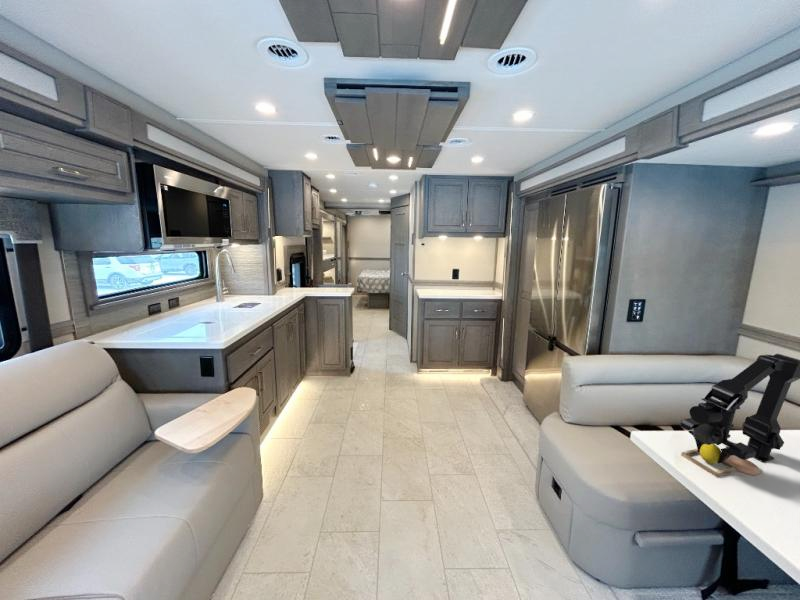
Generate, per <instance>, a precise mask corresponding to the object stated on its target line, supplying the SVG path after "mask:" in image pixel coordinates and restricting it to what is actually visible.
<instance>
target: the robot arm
mask: <svg viewBox="0 0 800 600" xmlns="http://www.w3.org/2000/svg"><path fill="white" fill-rule="evenodd" d="M767 377H769V378H768V381H767V385H766V387H765V389H764V392H763V395H762V397H761V400H760V402H759V405H758V408H757V410H756V412H755V414H753V415H750V416H748V415H747V416H746V417H745V419H744V421H743V423H742V427H741V428H742V435H744V436H746V437H748V441H747V444H745V443H743V442H733V441H731V440H729V439H730V438H731V434H730V432H731V428H732V429H733V428H734V424H733V421H734V418H735V414H736V410H741V406H742V405H743V404H744V403H745V401H747V399H748V398H749V397H748V395H749V393H748V392H749V391H750V390H751V389H753V388H754V387H755V386H757V385H758V384H759V383H761V382H762V381H764V379H766V378H767ZM798 380H800V359H798V358H796V357H791V356H788V355H784V354H780V353H775V354H774V355H772V354H766V353H765V354H760V355H759V356H758V357H757V358H756V360H755V361H754V362H752V363H751V364H749V366H747V367H746V368H745V369H743V370H742V371H740V372H739V373H737V374H736V375H735V376H734V377H733V378H728V379H723V380H721V381H719V382H717V383H715V384H713V385H711V387H710V388H709V389H708V390H707V391H706V393H705V394H704V395H703V396H702V397H701V401H704V402H700V403H698V405H694V406H692V407H691V408H690V409H689V415H690V418H683V419H681V420H680V422H679V427H681V428H683V429H685V430H686V431H687V432H688V433H689V434H690V435H692V437H693V438H694V440H695V445H696V449H698V452H700V448H701V446H702V445H703V444H707V445H711V444H715V445H716V446H720V445H721V444H722V445H724V446H725V447H723V448H720V450H721V455H720V457H719V460H718V463H717V464H719V465H721V464H722V462H724V461H725V460H726V459H727V458H729V457H730V456H731V455H732V456H733V455H735V456H736V457H738V458H740V459H743V460H749V459H752V458H753V459H756V460H758V461H760V462H761V463H766V462H769V461H772V460H775V457H774V456H772V455H771V452H772V450H773V449H775V450H781V448H783V446H784V444H785V441H784V439H783V438H782V437H781V435H780V433H781V426H780V424H779V421H778V417H779V415H780V412H781V410H782V407H783V404H784V402H785V400H786V397H787V394H788V393H789V389H790V387H791V385H792V383H794V382H796V381H798Z"/></svg>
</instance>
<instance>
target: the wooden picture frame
mask: <svg viewBox="0 0 800 600" xmlns="http://www.w3.org/2000/svg"><path fill="white" fill-rule="evenodd" d="M696 454H700V452H698V449H697V448H694V449H690V450H685V451H682V452H681V454H680V456H681V457H683V458H685V459H687V460H688V461H690V462H691V463H692V464H694V465H696V466H697V467H699V468H700V469H703V470H704V471H706V472H707V473H709V474H710V473H711V474H710V475H712V476H714V477H715V478H717V477H720V476H721V477H722V476H723V475H724V476H725V475H727V474H731V473H735V472H738V471H737V467H735V466H733V465H732V464H730V463H728V462H726V461H724V462H722V463H721V464H722V465H724V466H725V467H727V468H724V469H721V470H717V471H716V470H714V469H712V468H711V467H708V466H707V465H705V464H704V463H702V462H700V461H699V460H697V459H695V458H694V457H692V456H691V455H696Z"/></svg>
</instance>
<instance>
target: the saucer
mask: <svg viewBox="0 0 800 600" xmlns="http://www.w3.org/2000/svg"><path fill="white" fill-rule="evenodd" d="M725 461H726V462H728V463H730V464H732V465H733V466H735V467H737V471H736V472H739V473H743V474H745V475H749V476H759V475H761V469H760V468H759V466H758V465H756V464H755V463H754V462H752V461H750V460H749V459H746V460H743V459H740V458H738V457H736V456H735V455H733V456H732V455H731V456H730V457H729V458H727V459H726V460H725Z"/></svg>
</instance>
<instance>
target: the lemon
mask: <svg viewBox="0 0 800 600" xmlns="http://www.w3.org/2000/svg"><path fill="white" fill-rule="evenodd" d="M721 452H722V451H721V448H720V447H719V445H716V444H711V445H707V444H703V445H702V446H701V448H700V453H699V456H700V457H701V459H702V460H703V461H705V462H706V463H707V464H719V463H718V460H719V457H720V455H721Z"/></svg>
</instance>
